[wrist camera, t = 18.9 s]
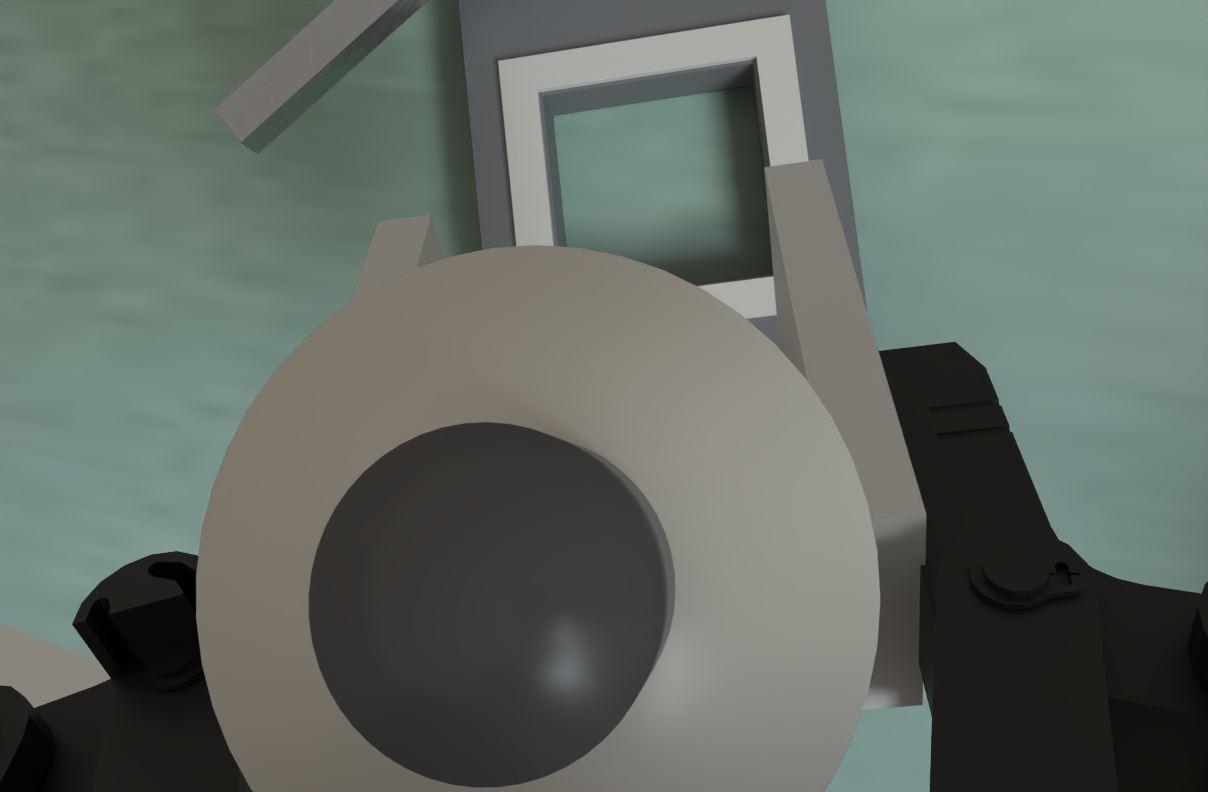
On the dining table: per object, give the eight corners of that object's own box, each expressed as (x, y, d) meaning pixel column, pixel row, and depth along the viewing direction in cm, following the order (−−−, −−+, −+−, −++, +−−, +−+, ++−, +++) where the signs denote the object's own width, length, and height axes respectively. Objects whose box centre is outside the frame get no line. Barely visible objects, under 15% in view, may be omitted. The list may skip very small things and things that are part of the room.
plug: (835, 319, 19) (1021, -78, 6) (888, 721, 18) (1229, 1241, 5) (454, 367, 20) (-99, 104, 7) (489, 754, 19) (-58, 1277, 6)
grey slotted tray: (783, -258, 32) (787, -332, 29) (904, 646, 29) (920, 662, 27) (451, -195, 34) (422, -261, 31) (535, 679, 31) (513, 697, 28)
